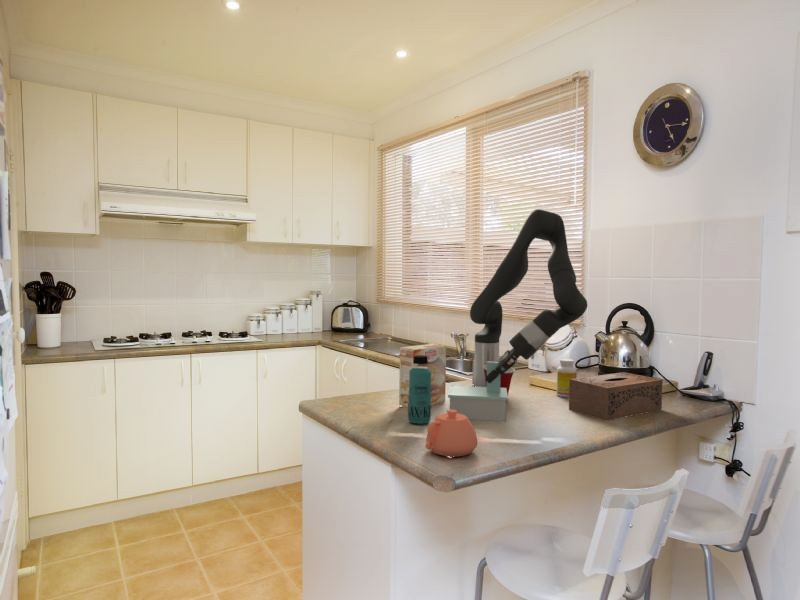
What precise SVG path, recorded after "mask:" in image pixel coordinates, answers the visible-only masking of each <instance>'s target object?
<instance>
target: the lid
mask: <svg viewBox="0 0 800 600" xmlns="http://www.w3.org/2000/svg"><path fill="white" fill-rule="evenodd" d="M497 365H498V362H491V361H487V375H488V374H489V373H490V372H491V371H493V370H494V368H495V367H496V366H497ZM500 369H501V367H500ZM500 377H501V375H500V376H498V377H497V378H496V379H495V380H493V381H492V382H491V383H488V382H487V387H474V385H471V386H468V385H451V386H450V388H449V391H448V393H447V398H448V399H450V398H466V399H487V400H507V401H508V398H509V397H508V396H509V395H508V396H507V389H506V388H500Z"/></svg>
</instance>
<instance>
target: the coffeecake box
mask: <svg viewBox="0 0 800 600" xmlns="http://www.w3.org/2000/svg"><path fill="white" fill-rule="evenodd" d="M416 355H425V356H427V358H428V363H427V364H414V363H413V360H414V356H416ZM413 367H427V368H429V369H430V371H431V406H433V405H436V404H441V403H445V402H446V382H447V381H446V379H447V378H446V377H447V374H446V373H447V346H446V345H443V344H436V343H429V344H419V345H410V346H409V345H408V346H401V347H399V386H398V388H399V389H398V391H399V392H398V393H399V394H398V396H399V397H398V398H399V399H398V402H399V403H398V406H399V405H402V406H403V407H404V406H405V407H404V408H408V404H409V400H408V396H409V393H408V392H409V371H410V370H411V369H412V368H413Z"/></svg>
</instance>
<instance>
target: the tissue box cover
mask: <svg viewBox="0 0 800 600" xmlns="http://www.w3.org/2000/svg"><path fill="white" fill-rule="evenodd" d="M663 380H664V379H660V378H654V377H651V376H644V375H640V374H634V373H630V372H625V371H623V372H622V371H621V372H616V373H607V374H600V375H599V374H598V375H591V376H586V377H585V376H583V377H576V378H575V379H570V384H569V398H568V410H571V411H572V412H576V413H579V414H583V415H587V416H588V417H589V416H590V417H593V418H596V419H599V418H600V420H603V421H606V420H607V421H611V419H612V420H616V419H615V418H618V419H620V417H623V418H626V417H625V416H628V417H631V415H633V416H637V415H636V414H638V415H642V414H641V413H644V414H647V413H646V412H649V413H653V412H652V411H654V412H658V411H657V410H659V411H662V410H661V409H662V408H663V406H662V405H663V404H662V403H663Z"/></svg>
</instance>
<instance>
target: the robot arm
mask: <svg viewBox="0 0 800 600" xmlns="http://www.w3.org/2000/svg"><path fill="white" fill-rule="evenodd" d="M566 234H567V233H566V227H565V222H564V219H563V218H562V216H561V215H560V214H558V213H555V212H551V211H548V210H544V209H540V208H539V209H534V210H532V211H531V212H530V213H529V214H528V215H527V218H526V219H525V221H524V223H523V224H522V227H521V229H520V231H519V233H518V235H517V237H516V239H515V240H514V243H513V244H512V246H511V247H510V249H509V251H508V252H507V254H506V255H505V257H504V258H503V260H502V262H501V263H500V264H499V266H498V268H497V270H496V271H495V273H494V274H493V276H492V278H491V279H490V280H489V282H488V283H487V285H486V286H485V287H484V289H483V290H482V292H480V294H479V295H478V296H477V297H476V299H475V300H474V301H473V302H472V304H471V306H470V310H469V317H470V320H471V321H472V322H473V323H474V324H478V325H484V327H483V328H482V329H481V330H480V331H479V332H476V333H475V335H474V359H473V360H472V384H474V385H473V387H474V386H476V387H486V381H487V382H488V383H491V382H492V381H493V380H495V379H496V378H497V377H498V376H500V375H503V374H504V373H505V372H506V371H507V370H508V369H510V368H513V366H515V365H516V364H517V363H518V359H519V358H520V357H522V358H523V359H524V360H525V361H527V360H529V359H530V358H531V357H532V356H534V354H535V353H536V352H537V351H538V350H539V351H540V349H541V348H542V347H543V346H544V345H545V344H546V343H547V342H548V340H549V339H550V338H551V337H552V336H554V335H555V334H556V333H557V332H558V331H559V330H560V329H562V328H563V327H566V326H569V324H571V323H573V322H575V321H576V320H578V319H580V318H581V317H582V316H583V315H584V314H585V312H586V311H587V308H588V301H587V299H586V297H585V296H584V295H583V293H581V291H580V290H579V288H578V286H577V276H576V273H575V271H574V268H573V265H572V261H571V258H570V256H569V255H570V254H569V249H568V243H567V242H568V241H567V235H566ZM535 239H538V240H542V241H545V242H548V243H550V246H551V248H552V250H551V253H550V255H549V257H548V261H547V271H548V274H549V277H550V280H551V283H552V293H553V297H554V300H555V303H556V304H557V306H559V307H558V308H556V309H555V310H550V309H544V310H543V311H541V312H540V313H539V314H538V315H537V316H536V317H534V319H533V320H531V321H530V322H529V323H527V324H526V325H525V326H524V327H523V328H521V330H520V331H518V332H517V333H516V334H515V335H514V336H513V337H511V339H510V340H509V342H508V343H509V344H510V346H511V347H512V348H511V350H508V349H507V350H506V351H505V352H504V353H503V354H502V356H500V340H501V339H500V338H501V335H502V328H503V307H502V304H501V302H500V301H499V300H500V299H501V298H503V297H504V296H506V295H507V294H509V293H510V292H512V291H513V290H514V289H515V288H517V287H518V286H519V285H520V283H521V282H522V280H523V279H524V278H525V276H526V274H527V273H528V270H529V257H528V250H529V248H530V245H531V244H532V242H533V241H534V240H535ZM487 361H491V362H498V365H497V366H496V367H495V368H494V370H493V371H491V372H490V373H489V374H488V375H487V373H486V374H484V369H483V367H482V366H483V365H487ZM500 367H501V369H500ZM502 369H503V370H502ZM485 376H486V377H485Z"/></svg>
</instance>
